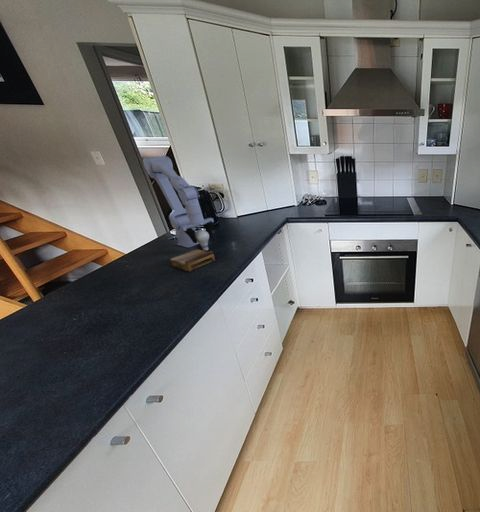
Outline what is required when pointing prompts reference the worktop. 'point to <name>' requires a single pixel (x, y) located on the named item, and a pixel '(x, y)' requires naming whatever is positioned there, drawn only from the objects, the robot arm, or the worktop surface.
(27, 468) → the worktop surface
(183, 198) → the robot arm
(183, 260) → the wooden pallet
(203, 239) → the lightbulb
